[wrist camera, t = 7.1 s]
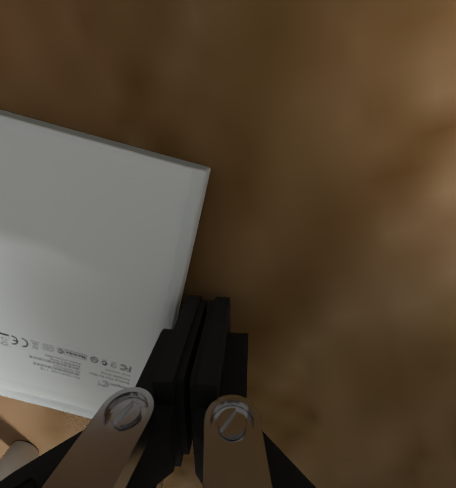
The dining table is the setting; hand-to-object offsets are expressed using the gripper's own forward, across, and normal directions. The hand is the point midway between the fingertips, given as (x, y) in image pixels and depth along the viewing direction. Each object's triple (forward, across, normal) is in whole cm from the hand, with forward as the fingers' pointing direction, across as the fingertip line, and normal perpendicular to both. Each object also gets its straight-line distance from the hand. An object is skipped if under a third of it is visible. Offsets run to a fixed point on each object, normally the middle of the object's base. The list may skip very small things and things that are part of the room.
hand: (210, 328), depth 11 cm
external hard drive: (+1, +5, -1) cm, 6 cm away
